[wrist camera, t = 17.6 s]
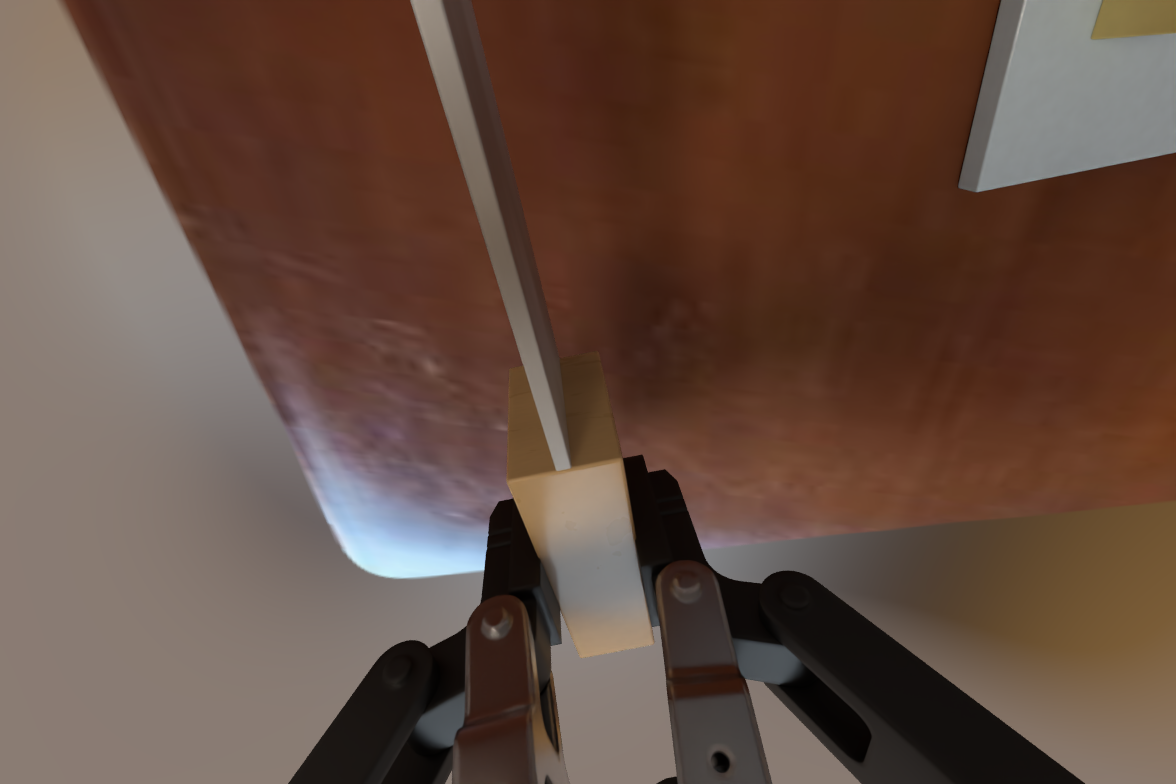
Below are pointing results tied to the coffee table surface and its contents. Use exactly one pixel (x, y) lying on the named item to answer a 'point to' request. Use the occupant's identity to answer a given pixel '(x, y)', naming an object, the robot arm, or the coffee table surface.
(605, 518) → the knife
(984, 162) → the light grey flat board
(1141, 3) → the butter slice
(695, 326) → the coffee table surface
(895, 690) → the robot arm
